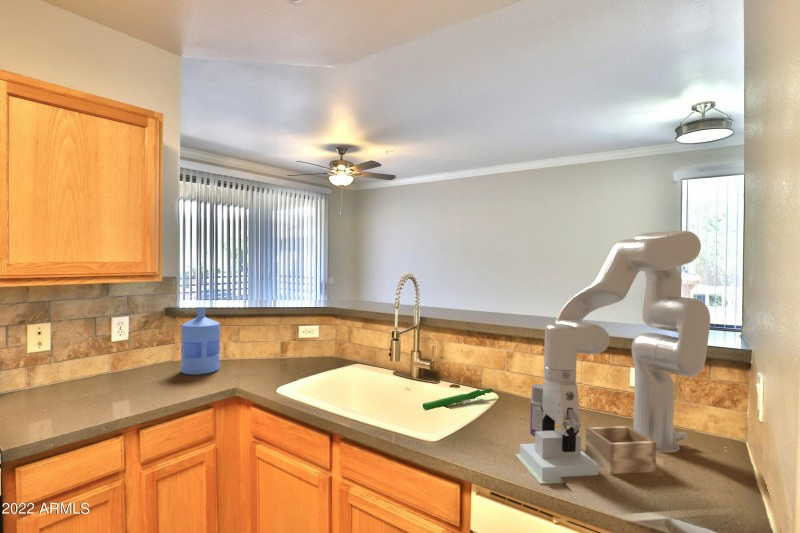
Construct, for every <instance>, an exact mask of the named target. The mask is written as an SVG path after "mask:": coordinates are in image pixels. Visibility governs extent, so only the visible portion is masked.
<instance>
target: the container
mask: <svg viewBox="0 0 800 533" xmlns="http://www.w3.org/2000/svg"><path fill="white" fill-rule="evenodd" d="M543 385H544V384H541V383H539V384H538V383H536V384H535V383H534V384H532V385H531V396H530V397H531V398H530V427H529V428H530V430H529V431H530V435H531V436H532V437H535V431H542V419H544V418H542V410H541V406H542V405H541V401H540V398H541V397H543Z"/></svg>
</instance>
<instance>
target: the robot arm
mask: <svg viewBox="0 0 800 533" xmlns="http://www.w3.org/2000/svg"><path fill="white" fill-rule="evenodd" d="M701 248H702V244H701V240H700V238H699V237H698V236H697V235H696V234H695V233H694V232H692V231H690V230H677V231H676V230H673V231H657V232H654V231H652V232H644V233H641V234H637V235H636V236H634V237H633V238H630V239H629V238H628V239H622V240H618V241H617V242H615V243H614V244H613V245H612V246H611V248H610V250H609V251H608V253H607V256H606V257H605V259H604V261H603V262H602V265H601V267H600V269H599V270H598V272H597V273H596V275H595V277H594V280H593V281H592V283H591V284H590V285H588V286H586V287H585V288H584V289H582V290H581V291H579V292H577V293H576V294H575V295H574V296H573V297H572V298H570V299H568V301H567V302H566V303H565V304H564V306H563V307H562V309H561V311H560V312H559V314H558V316H557V318H556V319H555V322H554V323H550V324H547V325H546V326H545V329H544V344H543V346H544V347H543V348H544V350H543V351H544V352H543V384H542V385H543V397H541V398H540V401H541V405H542V406H541V410H542V418H544V419H542V431H556V430H555V429H556V423H557V424H558V425H560V426H561V430H563V432H564V435H562V451H563V452H575V451H576V436H577V434H579V432H580V428H581V426H582V424H581V421H580V402H579V391H578V385H577V358H578V357H577V356H578V354H583V355H584V354H585V355H597V354H601V353H603V352H604V351H606V350H607V348H608V347H609V345H610V334H609V332H608V331H607V330H606V329H605V328H604V327H603V326H600V325H598V324H595V323H590V322H585V321H584V318H586V317H587V315H589V314H590V313H591V312H593V311H596V310H599V309H601V308H603V307H604V308H605V307H608V306H610V305H614V304H617V303H619V302H621V301H624V299H625V298H626V297H627V294H628V292H629V291H630V289H631V286H632V285H633V283H634V281H635V279H636V277H637V275H638V274H639V272H644V273H645V279H646V282H645V289H644V290H645V291H644V296H643V297H644V298H643V305H642V320H643V322H644V324H645V325H647V327H650V328H654V329H657V330H664V331H669V332H674V333H675V332H676V333H678V337H676V336H673V335H672V336H671V335H668V334H667V335H666V334H661V333H656V332H643V333H640V334H638V335H636V336H635V337H634V339H633V340H632V343H631V356H632V362H633V368H634V394H633V400H634V401H633V425H632V426H633V427H632V429H634V430H636V431H637V432H639V433H641V434H643V435H644V436H646V437H648V438H649V439H651V440H653V441H654V442H656V453H669V454H670V453H676V452H678V451H679V450H680V446H679V444H678V443H677V442H678V441H684V440H689V434H688V433H687V432H683V431H682V432H677V431H676V430H675V429H674V416H675V415H674V412H675V411H674V410H675V384H674V383H675V382H674V379H673V378H672V375H671V374H670V373H673V374H675V375H676V374H677V375H681V376H685V377H695V376H698V375H699V374H700V373H701V372H702V370H703V369H704V366H705V364H706V360H707V358H706V357H707V354H708V353H707V352H708V351H707V350H708V342H709V339H710V329H711V314H710V311H709V307H708V306H707V304H706V303H704V302H703V301H702V300H700V299H698V298H694V297H693V298H692V297H685V296H684V297H683V296H682V286H683V285H682V283H683V279H682V276H681V273H680V271H679V270H678V268H679V267H681V266H685V265H687V264H690V263H692V262H693V261H694V260H696V259H697V258H698V257H699V255H700V253H701ZM567 426H570V427H569V428H568V427H567Z"/></svg>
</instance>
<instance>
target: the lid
mask: <svg viewBox="0 0 800 533" xmlns="http://www.w3.org/2000/svg"><path fill="white" fill-rule="evenodd" d="M562 435H564V432H563V429H561V430H559V429H557V430H555V431H535V436H534V443H520V444H519V454H520V456H521V458H522V459H523V460H524V461H525V462H526V463H527V464H528V465H529V466H530V468H531V469H532V470H533V471H534V472H535V473H536V474H537V475H538V476H539V478H540V479H541V480H559V479H563V478H564V477H565V478H566V477H567V478H569V477H583V476H584V477H585V476H597V475H598V476H599V474H600V473H599V469H600V468H599V467H600V466H599V464H597V463H596V462H595V461H594V460H592V459H591V458H590V457H589V456H587V455H586V454H585V452H584V451H582V436H581V435H580V434H579V433H577V436H576V451H575V452H563V451H562Z"/></svg>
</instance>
